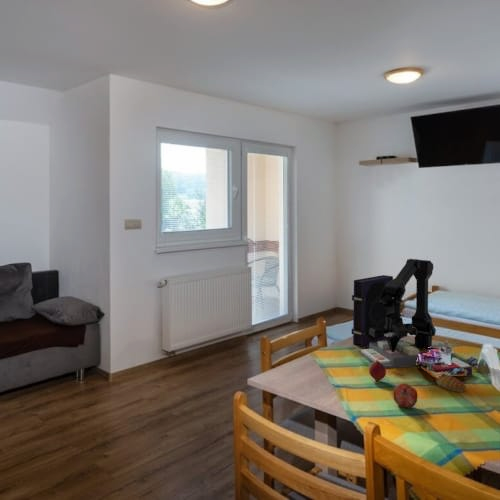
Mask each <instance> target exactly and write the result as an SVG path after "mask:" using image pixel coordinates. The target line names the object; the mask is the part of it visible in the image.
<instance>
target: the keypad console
mask: <svg viewBox="0 0 500 500" xmlns="http://www.w3.org/2000/svg"><path fill="white" fill-rule="evenodd" d="M368 347H369V348H367V349H365V348H364V349H358V350H357V353H358V352H359V353H360V354H361V355H360V354H359V353H358V354H359V355H360V356H362V355H363V356H364V357H365V359H366V358H367V359H368V360H367V359H366V360H367V361H369V362H370V361H371V362H372V363H371V362H370V363H371V364H373V363H375V362H376V360H378V361H379V362H380V363H381V364H382V365H383V366H384V367H385V368H386V369H394V368H395V369H396V367H398V368H407V367H406V366H410V367H416V366H415V365H416V360H417V357H418V355H407V354H405V353H404V352H403V350H402V351H400V350H398V349H397V348H396V349H395V350H396V351H398V352H400V353H398V354H389V353H387V352H386V351H385V350H390V349H381V348H379V347H378V342H373V343H369V345H368ZM363 356H362V357H363ZM364 357H363V358H364Z"/></svg>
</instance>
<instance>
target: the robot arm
mask: <svg viewBox="0 0 500 500" xmlns="http://www.w3.org/2000/svg"><path fill="white" fill-rule="evenodd" d="M433 270H434V263H433V262H432V261H431V260H427V259H426V260H425V259H417V258H409V259H407V260H406V261H405V264H404V266H403V267H402V268H401V269H400V271H399V272H398V273H397V275H396V277H395V278H393V280H390V281H389V282H388V283H387V284H386V285H385V286H384V288H383V291H382V293H381V296H380V299H379V300H380V301H379V302H378V305H376V306H375V308H374V314H375V316H376V317H377V318H380V319H382V318H386V325H384V328H386V329H381V328H379V327H373V328H370V330H369V334H370V335H371V336H373V337H375V338H379V337H383V336H384V337H385V338H386V339H385V341H387V342H388V345H389V347H390V350H391V352H394V351H395V349H396V346H397V344H398V342H399V340H400V339H401V340H402V339H403V338H406V337H408V334H409V336H414V344H413V345H412V346H414V347H415V348H417V347H418V348H417V349H419V348H421V349H420V350H424V349H423V348H428V347H430V346H432V347H433V337H435V335H436V331H437V329H436V328H435V326H434V324H433V318H432V316H431V315H430V313H429V280H430V278H431V276H433ZM413 276H414V278H415V281H416V284H415V285H416V290H415V291H416V292H415V293H416V298H415V300H416V304H415V306H416V307H415V309H416V312H415V313H414V314H413V315H412V316H411V323H404V320H403V317H402V316H401V315H402V314H401V313H402V303H404V300H403V297H404V295H405V294H406V285H407V284H408V283H409V281H410V280H411V278H412V277H413ZM388 297H390V298H388ZM389 331H390V332H389Z"/></svg>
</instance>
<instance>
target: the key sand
mask: <svg viewBox="0 0 500 500" xmlns="http://www.w3.org/2000/svg"><path fill="white" fill-rule="evenodd" d="M403 352H404V353H405V354H407V355H418V354H419V353H420V349H419V348H417V347H416V346H414V345H412V346H411V345H410V347H403Z"/></svg>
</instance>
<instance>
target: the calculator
mask: <svg viewBox="0 0 500 500" xmlns="http://www.w3.org/2000/svg"><path fill="white" fill-rule="evenodd" d="M451 358H452V362H453V363H452V364H451V365H445V364H444V365H442V364H441V365H437V366H434V367H432V368H433V369H434V371H435V372H441V371H449V370H453V369H454V368H460V367H461V368H464V369H466V370H467V371H468V373H467V376H466V377H472V376H473V367H472V366H471V365H470V364H468V363H466V362H464V361H462V360H461V359H459V358H456V357H451Z"/></svg>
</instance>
